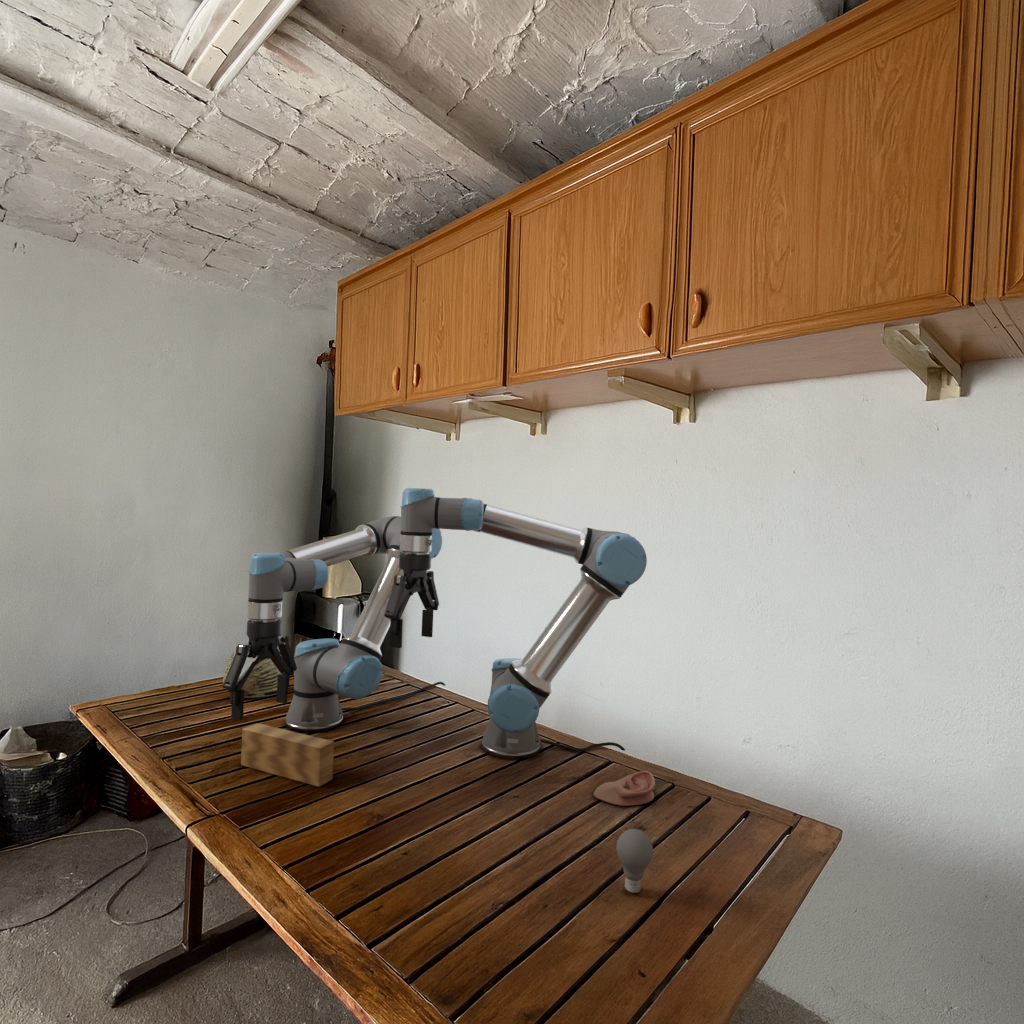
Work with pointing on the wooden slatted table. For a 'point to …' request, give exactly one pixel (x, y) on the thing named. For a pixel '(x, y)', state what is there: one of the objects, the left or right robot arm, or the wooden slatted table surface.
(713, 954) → the wooden slatted table surface
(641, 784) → the anatomical model
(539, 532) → the right robot arm
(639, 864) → the light bulb
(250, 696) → the fossil
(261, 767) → the bar
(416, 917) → the wooden slatted table surface
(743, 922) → the wooden slatted table surface
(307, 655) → the left robot arm
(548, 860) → the wooden slatted table surface
